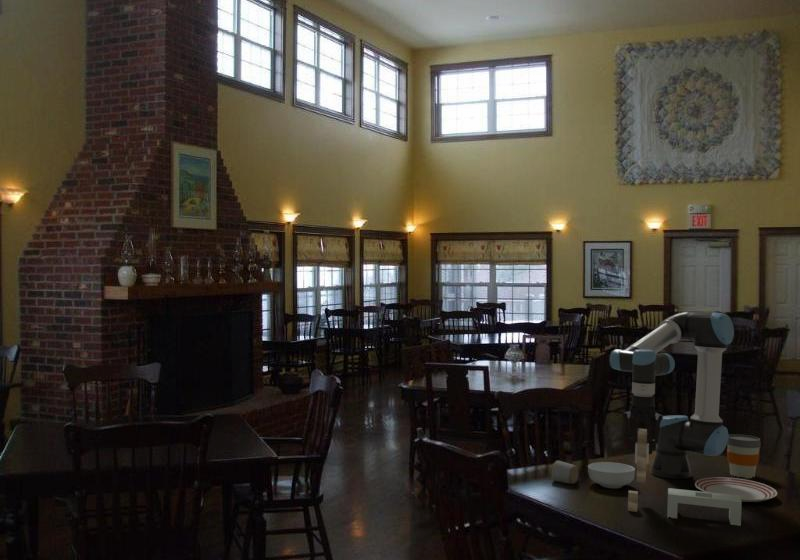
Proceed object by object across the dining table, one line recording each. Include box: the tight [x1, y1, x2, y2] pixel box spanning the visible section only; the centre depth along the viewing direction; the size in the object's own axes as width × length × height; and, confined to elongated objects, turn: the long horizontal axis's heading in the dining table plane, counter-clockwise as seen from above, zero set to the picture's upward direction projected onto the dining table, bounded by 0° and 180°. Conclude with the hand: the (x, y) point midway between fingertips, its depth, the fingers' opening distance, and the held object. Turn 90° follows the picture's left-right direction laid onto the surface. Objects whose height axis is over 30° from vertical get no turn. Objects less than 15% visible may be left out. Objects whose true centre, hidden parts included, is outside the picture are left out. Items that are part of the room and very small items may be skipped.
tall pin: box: [636, 428, 648, 484], centre depth 279 cm, size 3×3×18 cm
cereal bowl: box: [587, 461, 636, 489], centre depth 300 cm, size 17×17×7 cm
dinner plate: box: [694, 476, 778, 503], centre depth 292 cm, size 28×27×3 cm
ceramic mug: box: [551, 460, 580, 485], centre depth 304 cm, size 11×8×8 cm
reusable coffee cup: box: [726, 434, 762, 479], centre depth 321 cm, size 12×13×15 cm
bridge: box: [666, 487, 743, 527], centre depth 263 cm, size 8×22×8 cm, turn 72°
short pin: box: [627, 490, 639, 513], centre depth 270 cm, size 3×3×6 cm
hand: (641, 462), depth 279 cm, fingers closed on tall pin, 3 cm apart
